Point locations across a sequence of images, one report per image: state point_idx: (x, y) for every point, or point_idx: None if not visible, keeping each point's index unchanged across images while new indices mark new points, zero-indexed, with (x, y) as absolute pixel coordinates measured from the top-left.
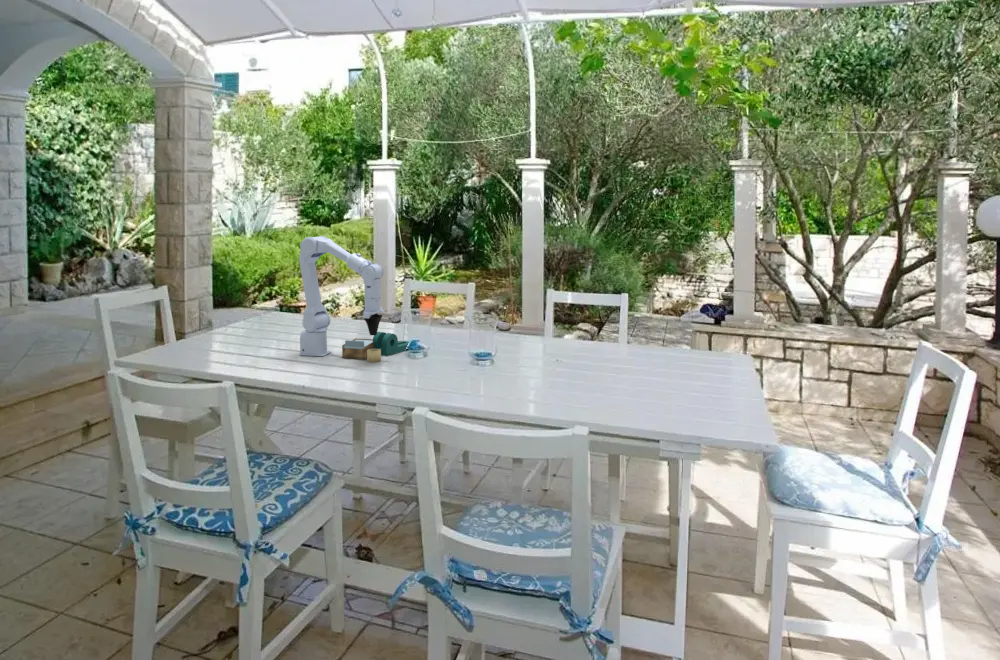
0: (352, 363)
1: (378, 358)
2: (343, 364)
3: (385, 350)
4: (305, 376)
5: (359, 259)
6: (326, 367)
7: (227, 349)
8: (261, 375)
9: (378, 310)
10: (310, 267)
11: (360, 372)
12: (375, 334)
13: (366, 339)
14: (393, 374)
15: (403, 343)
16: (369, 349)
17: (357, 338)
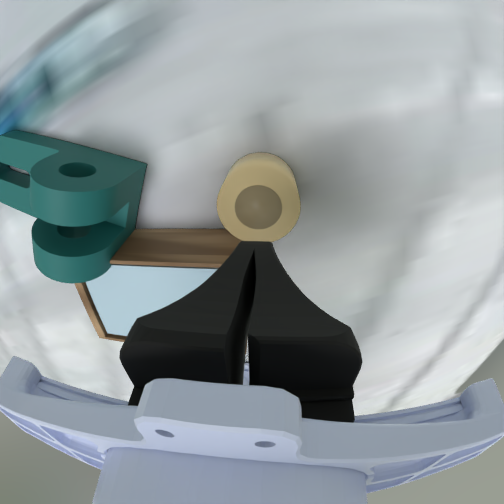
0: (336, 257)
1: (280, 161)
2: (356, 281)
3: (135, 177)
4: (484, 314)
5: None
6: (400, 312)
7: None
8: (450, 380)
9: (311, 471)
10: None
11: (474, 185)
12: (270, 244)
13: (89, 301)
14: (487, 57)
15: (8, 163)
16: (249, 234)
17: (97, 332)
